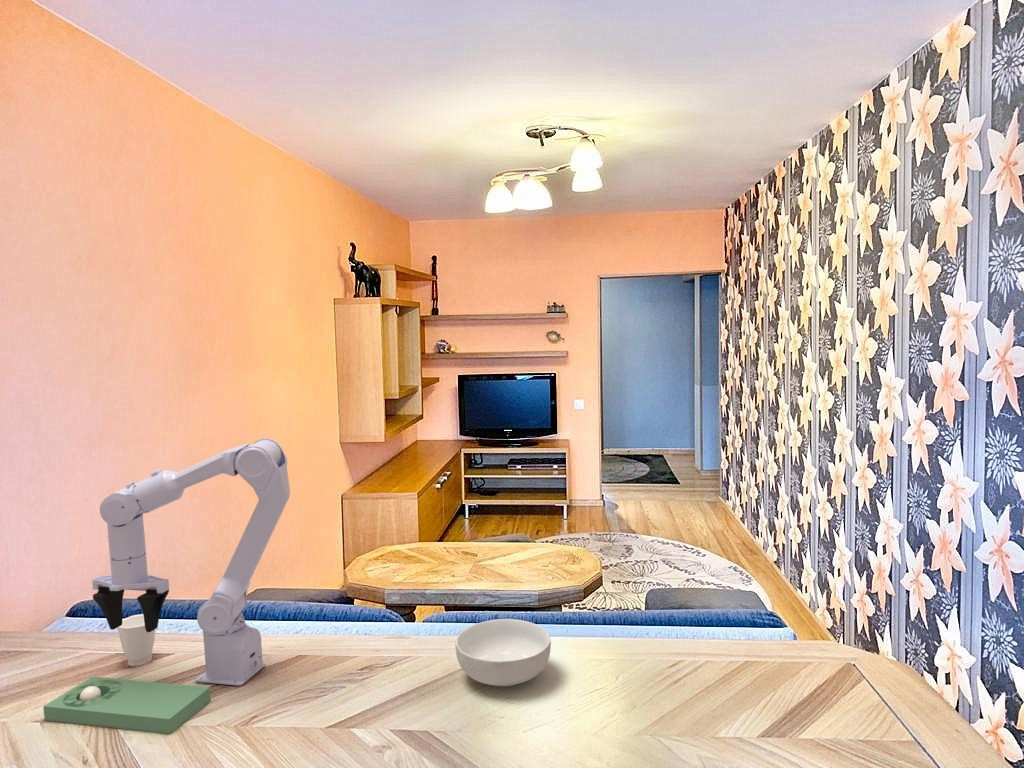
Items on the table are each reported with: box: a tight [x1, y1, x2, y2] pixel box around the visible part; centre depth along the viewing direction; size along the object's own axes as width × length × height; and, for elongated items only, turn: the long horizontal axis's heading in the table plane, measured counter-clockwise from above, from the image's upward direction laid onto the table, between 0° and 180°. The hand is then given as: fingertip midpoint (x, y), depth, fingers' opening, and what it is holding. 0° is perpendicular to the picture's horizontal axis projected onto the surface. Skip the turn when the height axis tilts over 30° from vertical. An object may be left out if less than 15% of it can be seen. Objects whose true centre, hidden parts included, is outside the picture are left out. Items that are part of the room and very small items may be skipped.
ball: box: [80, 686, 101, 701], centre depth 119 cm, size 3×3×3 cm
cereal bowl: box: [454, 618, 552, 688], centre depth 125 cm, size 17×17×7 cm
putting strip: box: [43, 676, 212, 735], centre depth 118 cm, size 24×10×2 cm, turn 77°
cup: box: [116, 613, 156, 667], centre depth 137 cm, size 7×10×8 cm
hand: (134, 628), depth 127 cm, fingers open, 7 cm apart
